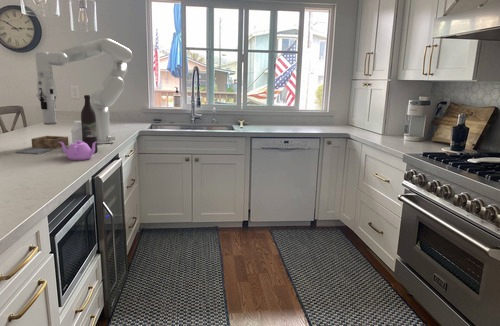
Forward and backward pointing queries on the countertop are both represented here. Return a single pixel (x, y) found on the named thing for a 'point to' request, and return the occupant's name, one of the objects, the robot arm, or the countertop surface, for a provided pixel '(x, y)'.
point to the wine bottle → (88, 124)
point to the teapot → (79, 150)
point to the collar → (49, 142)
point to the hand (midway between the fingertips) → (48, 108)
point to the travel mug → (49, 110)
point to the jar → (77, 132)
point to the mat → (34, 150)
